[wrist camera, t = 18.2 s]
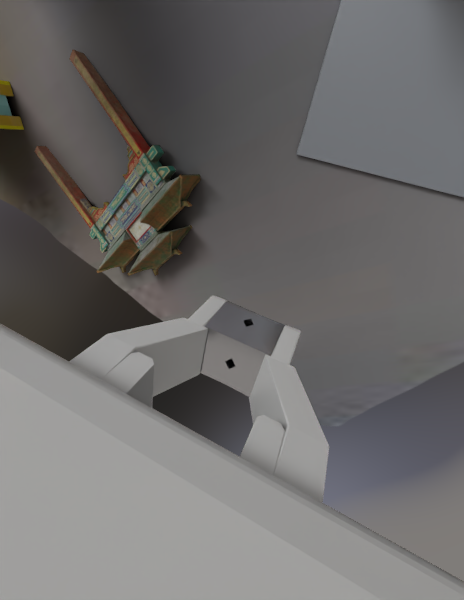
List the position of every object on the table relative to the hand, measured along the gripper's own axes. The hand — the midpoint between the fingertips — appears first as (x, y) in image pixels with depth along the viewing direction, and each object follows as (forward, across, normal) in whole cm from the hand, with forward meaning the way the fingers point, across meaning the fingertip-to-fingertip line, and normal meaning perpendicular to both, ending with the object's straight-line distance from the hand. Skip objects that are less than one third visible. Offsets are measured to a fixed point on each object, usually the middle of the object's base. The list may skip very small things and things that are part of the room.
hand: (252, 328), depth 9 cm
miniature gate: (+32, +33, +8) cm, 47 cm away
